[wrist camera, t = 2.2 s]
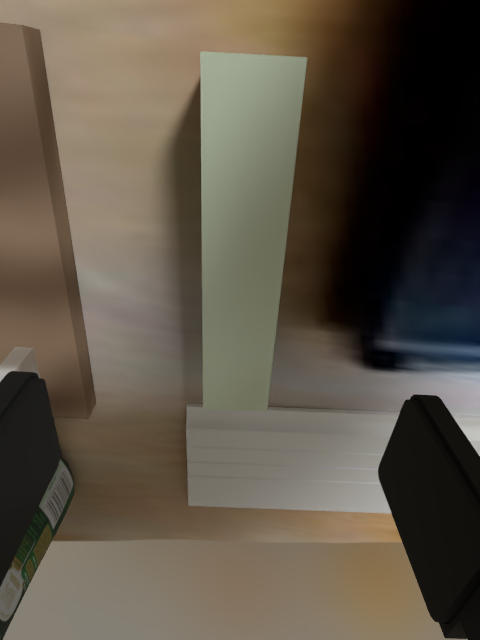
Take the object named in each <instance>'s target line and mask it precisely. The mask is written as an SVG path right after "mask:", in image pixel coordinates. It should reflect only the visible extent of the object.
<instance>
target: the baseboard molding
mask: <svg viewBox="0 0 480 640" xmlns="http://www.w3.org/2000/svg"><path fill="white" fill-rule="evenodd" d="M186 409H187V420H186V442H187V474H188V476H187V479H188V506H205V507H232V508H259V509H286V510H313V511H340V512H367V513H391V510H390V508H389V505H388V502H387V500H386V497H385V494H384V492H383V489H382V486H381V484H380V481H379V477H378V467H379V464H380V462H381V459H382V457H383V454H384V452H385V449H386V447H387V444H388V442H389V439H390V437H391V434H392V432H393V429H394V427H395V424H396V422H397V419H398V417H399V414H400V412H382V411H358V410H334V409H309V408H285V407H268V408H267V412H266V411H239V410H211V409H203V404H189V403H187V406H186ZM451 415H452V416H453V418H454V419H455V421H456V422H457V424H458V425H459V427H460V428H461V430H462V431H463V433H464V434H465V435H466V437H467V438H468V440H469V441H470V443H471V444H472V446H473V447H474V449H475V450H476V452H477V453H478V455H479V456H480V416H478V415H454V414H451Z"/></svg>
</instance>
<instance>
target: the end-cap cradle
mask: <svg viewBox="0 0 480 640" xmlns="http://www.w3.org/2000/svg"><path fill="white" fill-rule="evenodd" d="M10 371H22V372H35V373H37V374H38V376H39V378H42V379H44V380H45V382H46V386H47V391H48V396H49V400H50V405H51V409H52V414H53V417H69V418H84V419H89V417H90V415H91V412H92V410H93V408H94V406H95V404H96V399H95V392H94V386H93V379H92V373H91V366H90V359H89V353H88V346H87V340H86V333H85V326H84V320H83V313H82V306H81V300H80V293H79V287H78V280H77V273H76V267H75V260H74V254H73V247H72V240H71V234H70V227H69V220H68V214H67V207H66V201H65V194H64V187H63V181H62V174H61V167H60V161H59V154H58V148H57V141H56V134H55V128H54V121H53V115H52V108H51V101H50V95H49V88H48V81H47V75H46V68H45V62H44V55H43V48H42V42H41V35H40V30H38V29H34V28H31V27H27V26H23V25H16V24H6V23H0V382H1V380H2V379H3V378H4V377H5V376H6V374H7V373H9V372H10Z"/></svg>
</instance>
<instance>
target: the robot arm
mask: <svg viewBox="0 0 480 640" xmlns="http://www.w3.org/2000/svg"><path fill="white" fill-rule="evenodd" d="M60 456H61V451H60V446H59V441H58V437H57V432H56V428H55V423H54V419H53V414H52V409H51V405H50V400H49V396H48V391H47V386H46V382H45V380H44V379H42V378H39V376H38V374H37V373H35V372H22V371H10V372H9V373H7V374H6V376H5V377H4V378H3V379H2V380H1V382H0V587H1V585H2V583H3V580H4V578H5V576H6V574H7V572H8V570H9V568H10V566H11V564H12V562H13V559H14V557H15V555H16V553H17V551H18V549H19V547H20V545H21V543H22V541H23V538H24V536H25V534H26V532H27V530H28V528H29V526H30V524H31V522H32V520H33V517H34V515H35V513H36V511H37V509H38V507H39V505H40V503H41V501H42V499H43V496H44V494H45V492H46V490H47V488H48V486H49V484H50V482H51V480H52V478H53V475H54V473H55V471H56V469H57V467H58V465H59V462H60ZM378 477H379V481H380V484H381V486H382V489H383V492H384V494H385V497H386V500H387V502H388V505H389V508H390V510H391V513H392V516H393V518H394V521H395V524H396V526H397V529H398V532H399V534H400V537H401V539H402V542H403V544H404V547H405V550H406V553H407V555H408V558H409V561H410V563H411V566H412V569H413V571H414V574H415V577H416V579H417V582H418V585H419V587H420V590H421V592H422V595H423V598H424V600H425V603H426V606H427V609H428V611H429V613H430V616H431V617H432V618H433V620H434V621H435V622H439V624H440V627H441V629H442V632H443V634H444V637H445V638H459V639H461V638H462V639H468V640H480V456H479V455H478V453H477V452H476V450H475V449H474V447H473V446H472V444H471V443H470V441H469V440H468V438H467V437H466V435H465V434H464V433H463V431H462V430H461V428H460V427H459V425H458V424H457V422H456V421H455V419H454V418H453V416H452V415H451V413H450V412H449V410H448V409H447V408H446V406H445V405H444V403H443V402H442V400H441V399H440V398H439V397H438V396H433V395H413V396H412V397H411V398H410V400H406V401H405V402H404V404H403V407H402V409H401V412H400V414H399V417H398V419H397V422H396V424H395V427H394V429H393V432H392V434H391V437H390V439H389V442H388V444H387V447H386V449H385V452H384V454H383V457H382V459H381V462H380V464H379V467H378Z"/></svg>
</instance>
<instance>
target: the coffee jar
mask: <svg viewBox="0 0 480 640" xmlns="http://www.w3.org/2000/svg"><path fill="white" fill-rule="evenodd" d="M73 495H74V481H73V477H72V473H71V470H70V468H69V466H68V464H67V462H66V461H65V460H64V459H63V458H62V457H61V456H60V462H59V465H58V467H57V469H56V471H55V473H54V475H53V478H52V480H51V482H50V484H49V486H48V488H47V490H46V492H45V494H44V496H43V499H42V501H41V503H40V505H39V507H38V509H37V511H36V513H35V515H34V517H33V520H32V522H31V524H30V526H29V528H28V530H27V532H26V534H25V536H24V538H23V541H22V543H21V545H20V547H19V549H18V551H17V553H16V555H15V557H14V559H13V562H12V564H11V566H10V568H9V570H8V572H7V574H6V576H5V578H4V580H3V583H2V585H1V587H0V640H3V637H4V635H5V633H6V631H7V629H8V626H9V624H10V622H11V620H12V619H13V616H14V614H15V612H16V610H17V608H18V606H19V604H20V602H21V600H22V598H23V596H24V594H25V592H26V590H27V588H28V586H29V584H30V582H31V580H32V578H33V576H34V574H35V572H36V570H37V568H38V566H39V564H40V562H41V560H42V559H43V557H44V555H45V553H46V551H47V549H48V547H49V545H50V543H51V541H52V539H53V537H54V536H55V534H56V532H57V530H58V528H59V526H60V524H61V522H62V520H63V518H64V516H65V514H66V511H67V509H68V507H69V505H70V502H71V500H72V498H73Z"/></svg>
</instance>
